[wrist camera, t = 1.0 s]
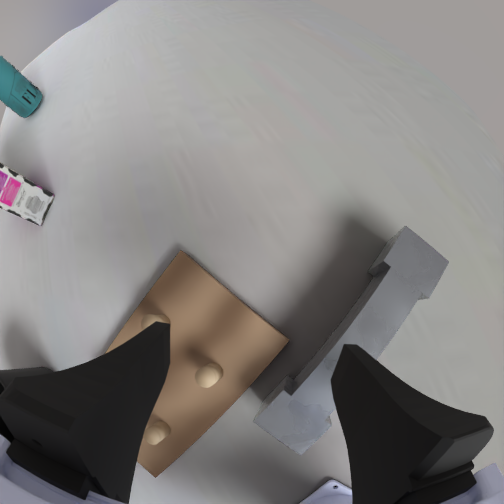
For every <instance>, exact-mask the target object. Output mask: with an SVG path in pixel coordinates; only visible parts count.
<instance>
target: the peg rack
mask: <svg viewBox="0 0 504 504" xmlns="http://www.w3.org/2000/svg"><path fill="white" fill-rule="evenodd" d="M156 321H158V322H164V323H169V324H170V366H169V370H168V373H167V377H166V380H165V383H164V385H163V388H162V390H161V392H160V395H159V397H158V399H157V402H156V404H155V406H154V409H153V411H152V413H151V415H150V418H149V420H148V423H147V425H146V428H145V431H144V435H143V439H142V442H141V446H140V450H139V454H138V458H137V462H138V463H139V464H141V465H142V466H143V467H144V468H145V469H146V470H147V471H148V472H149V473H151V474H152V475H153V476H154V477H155V478H156V477H157V476H158V475H159V474H160V473H162V472H163V471H164V470H165V469H166V468H167V467H168V466H170V465H171V464H172V463H173V462H174V461H175V460H176V459H177V458H178V457H180V456H181V455H182V454H183V453H184V452H185V451H186V450H187V449H188V448H189V447H190V446H191V445H192V444H193V443H194V442H196V441H197V440H198V439H199V438H200V437H201V436H202V435H203V434H204V433H205V432H206V431H207V430H208V429H209V428H210V427H211V426H212V425H213V424H214V423H215V422H216V421H217V420H218V419H219V418H220V417H221V416H222V415H223V414H224V413H225V412H226V411H227V410H228V409H229V408H230V407H231V405H232V404H233V403H234V402H235V401H236V400H237V399H238V398H239V397H240V396H241V395H242V394H243V393H244V392H245V391H246V389H247V388H248V387H249V386H250V385H251V384H252V383H253V382H254V381H255V380H256V378H257V377H258V376H259V375H260V374H261V373H262V372H263V371H264V369H265V368H266V367H267V366H268V365H269V364H270V363H271V361H272V360H273V359H274V358H275V357H276V356H277V354H278V353H279V352H280V351H281V350H282V349H283V347H284V346H285V345H286V344H287V343H288V341H289V340H290V339H288V338H287V337H286V336H284V335H283V334H282V333H281V332H279V331H278V330H277V329H276V328H274V327H273V326H272V325H271V324H269V323H268V322H267V321H266V320H264V319H263V318H262V317H261V316H260V315H258V314H257V313H256V312H255V311H253V310H252V309H251V308H250V307H249V306H247V305H246V304H245V303H244V302H243V301H241V300H240V299H239V298H238V297H237V296H235V295H234V294H233V293H232V292H231V291H229V290H228V289H227V288H226V287H225V286H223V285H222V284H221V283H220V282H219V281H218V280H216V279H215V278H214V277H213V276H212V275H210V274H209V273H208V272H207V271H206V270H205V269H203V268H202V267H201V266H200V265H199V264H198V263H197V262H195V261H194V260H193V259H192V258H191V257H190V256H189V255H187V254H186V253H185V252H183V251H181V250H180V252H179V253H178V254H177V256H176V257H175V258H174V259H173V261H172V262H171V263H170V265H169V266H168V267H167V268H166V270H165V271H164V272H163V274H162V275H161V276H160V278H159V279H158V280H157V282H156V283H155V284H154V286H153V287H152V288H151V290H150V291H149V292H148V294H147V295H146V296H145V298H144V299H143V300H142V302H141V303H140V304H139V306H138V307H137V309H136V310H135V311H134V313H133V314H132V315H131V317H130V318H129V320H128V321H127V322H126V324H125V325H124V327H123V328H122V329H121V331H120V332H119V334H118V335H117V337H116V338H115V339H114V341H113V342H112V344H111V345H110V347H109V348H108V350H107V351H106V353H108V352H110V351H111V350H113V349H115V348H116V347H118V346H120V345H122V344H123V343H125V342H126V341H128V340H129V339H131V338H132V337H134V336H135V335H137V334H138V333H140V332H141V331H143V330H144V329H145V328H147V327H148V326H150V325H151V324H153V323H154V322H156ZM106 353H105V354H106Z"/></svg>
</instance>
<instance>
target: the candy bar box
mask: <svg viewBox="0 0 504 504" xmlns="http://www.w3.org/2000/svg"><path fill="white" fill-rule="evenodd" d="M53 198H54V194H52V193H50V192H49V191H47V190H46V189H44V188H42V187H41V186H39V185H37V184H35V183H34V182H32V181H30V180H29V179H27V178H26V177H24V176H22V175H21V174H19V173H17V172H16V171H14V170H12V169H11V168H9V167H8V166H6V165H4V164H3V163H1V162H0V208H2V209H4V210H6V211H8V212H10V213H12V214H15V215H17V216H19V217H21V218H24V219H26V220H28V221H30V222H33V223H35V224H37V225H39V226H41V225H42V223H43V221H44V219H45V216H46V214H47V212H48V210H49V207H50V205H51V203H52V201H53Z"/></svg>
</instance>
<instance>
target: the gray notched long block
mask: <svg viewBox="0 0 504 504" xmlns="http://www.w3.org/2000/svg"><path fill="white" fill-rule="evenodd" d="M448 263H449V261H448V260H446V259H445V258H444V257H443V256H442V255H441V254H440V253H438V252H437V251H436V250H435V249H434V248H433V247H431V246H430V245H429V244H428V243H427V242H425V241H424V240H423V239H422V238H421V237H419V236H418V235H417V234H416V233H414V232H413V231H412V230H411V229H409V228H408V227H407V226H404V227H403V228H402V229H401V230H400V231H399V232H398V233H397V234H396V235H395V236H394V237H393V238H392V239H390V240H389V241H388V242H387V243H386V245H385V247H384V248H383V250H382V251H381V253H380V254H379V256H378V257H377V259H376V260H375V262H374V263H373V265H372V266H371V268H370V269H369V271H368V272H369V273H370V274H371V275H373V276H374V277H373V279H372V280H371V282H370V283H369V285H368V286H367V287H366V289H365V290H364V292H363V293H362V295H361V296H360V297H359V299H358V300H357V302H356V303H355V304H354V306H353V307H352V308H351V310H350V311H349V312H348V314H347V315H346V316H345V318H344V319H343V320H342V322H341V323H340V324H339V326H338V327H337V328H336V329H335V331H334V332H333V333H332V335H331V336H330V337H329V338H328V340H327V341H326V342H325V343H324V345H323V346H322V347H321V348H320V349H319V351H318V352H317V353H316V354H315V356H314V357H313V358H312V359H311V360H310V361H309V363H308V364H307V365H306V366H305V367H304V368H303V370H302V371H301V372H300V373H299V374H298V375H297V377H296V378H295V379H294V380H293V379H291V378H290V377H289V376H288V375H287V376H286V377H285V378H284V379H283V380H282V381H281V382H280V383H279V385H278V386H277V387H276V388H275V389H274V390H273V391H272V392H271V393H270V394H269V395H268V396H267V398H266V399H265V400H264V401H263V402H262V404H261V406H260V408H259V410H258V412H257V414H256V416H255V418H254V420H253V422H254V423H256V424H257V425H258V426H260V427H261V428H262V429H264V430H265V431H266V432H268V433H269V434H270V435H272V436H273V437H275V438H276V439H277V440H279V441H280V442H282V443H283V444H285V445H286V446H288V447H289V448H291V449H292V450H293V451H295V452H296V453H298V454H300V455H302V454H303V453H304V452H305V451H306V450H307V449H308V448H309V447H310V446H312V445H313V444H314V443H315V442H316V441H317V440H318V439H319V438H320V437H321V436H322V435H323V434H324V433H325V432H326V431H327V430H328V429H329V428H330V427H331V426H332V424H331V420H330V416H329V415H330V414H331V413H332V412H333V411H334V410H335V409H336V407H335V403H334V400H333V394H332V388H331V377H332V375H333V372H334V369H335V367H336V364H337V361H338V359H339V356H340V353H341V351H342V348H343V345H344V344H357V345H358V346H360V347H361V348H362V349H364V350H365V351H366V352H367V353H369V354H370V355H371V356H372V357H373V358H374V359H376V360H377V358H378V357H379V356H380V354H381V353H382V352H383V350H384V349H385V348H386V346H387V345H388V344H389V342H390V341H391V339H392V338H393V337H394V335H395V334H396V332H397V331H398V329H399V328H400V326H401V325H402V323H403V322H404V320H405V319H406V317H407V316H408V314H409V313H410V311H411V310H412V308H413V307H414V305H415V303H416V302H417V300H420V299H427V298H429V297H430V296H431V294H432V292H433V290H434V289H435V287H436V285H437V283H438V282H439V280H440V278H441V276H442V274H443V272H444V270H445V269H446V267H447V265H448Z"/></svg>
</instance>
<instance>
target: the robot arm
mask: <svg viewBox="0 0 504 504" xmlns="http://www.w3.org/2000/svg"><path fill="white" fill-rule="evenodd" d="M169 366H170V324H169V323H164V322H158V321H156V322H154V323H153V324H151V325H150V326H148V327H147V328H145V329H144V330H143V331H141V332H140V333H138V334H137V335H135V336H134V337H132V338H131V339H129V340H128V341H126V342H125V343H123V344H122V345H120V346H118V347H116V348H115V349H113V350H111V351H110V352H108V353H106V354H104V355H102V356H100V357H98V358H96V359H93V360H91V361H89V362H86V363H83V364H81V365H78V366H75V367H72V368H69V369H65V370H62V371H58V372H53V373H48V374H43V375H35V376H25V377H15V378H14V379H13V380H12V382H11V383H10V384H9V385H8V386H7V387H6V388H5V390H4V391H3V392H2V393H1V394H0V416H1V417H2V419H3V421H4V422H5V424H6V426H7V427H8V429H9V430H10V432H11V433H12V435H13V436H14V438H15V439H14V440H13V442H12V443H10V442H9V441H8V440H7V439H6V438H4V437H3V436H2V435H0V504H129V499H130V492H131V486H132V481H133V476H134V471H135V466H136V462H137V458H138V454H139V450H140V446H141V442H142V439H143V435H144V431H145V428H146V425H147V423H148V420H149V418H150V415H151V413H152V411H153V409H154V406H155V404H156V402H157V399H158V397H159V395H160V392H161V390H162V388H163V385H164V383H165V380H166V377H167V373H168V370H169ZM331 388H332V394H333V400H334V403H335V407H336V410H337V413H338V417H339V420H340V423H341V426H342V430H343V433H344V436H345V440H346V444H347V449H348V455H349V462H350V471H351V481H352V489H350V488H348V487H347V486H345V485H343V484H341V483H339V482H338V481H336V480H329V481H327V482H326V483H325V484H324V485H323V486H321V487H320V488H319V489H318V490H316V491H315V492H314V493H313V494H311V495H310V496H309V497H307V498H306V499H305V500H303V501H302V502H301V503H299V504H504V477H503V475H502V473H501V472H500V470H499V468H498V466H497V465H496V463H493V464H491V465H489V466H487V467H485V468H483V469H481V470H479V471H478V472H476V473H475V474H474V475H473V474H472V472H471V470H472V469H473V468H474V464H473V462H472V460H473V459H474V458H475V457H476V456H477V455H478V453H479V452H480V451H481V450H482V449H483V448H484V447H485V446H486V444H487V443H488V442H489V440H490V439H491V437H492V435H493V431H494V429H493V427H492V425H491V424H490V423H489V421H488V420H487V418H486V417H485V416H481V415H477V414H472V413H468V412H464V411H461V410H458V409H455V408H452V407H450V406H447V405H444V404H442V403H440V402H438V401H436V400H434V399H431V398H429V397H428V396H426V395H424V394H422V393H420V392H419V391H417V390H415V389H414V388H412V387H411V386H409V385H408V384H406V383H405V382H403V381H402V380H401V379H399V378H398V377H397V376H395V375H394V374H393V373H391V372H390V371H389V370H388V369H386V368H385V367H384V366H383V365H382V364H380V363H379V362H378V361H377V360H376V359H374V358H373V357H372V356H371V355H370V354H369V353H367V352H366V351H365V350H364V349H362V348H361V347H360V346H358V345H357V344H344V345H343V348H342V351H341V353H340V356H339V359H338V361H337V364H336V367H335V369H334V372H333V375H332V377H331ZM335 485H337V487H333V486H335Z"/></svg>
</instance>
